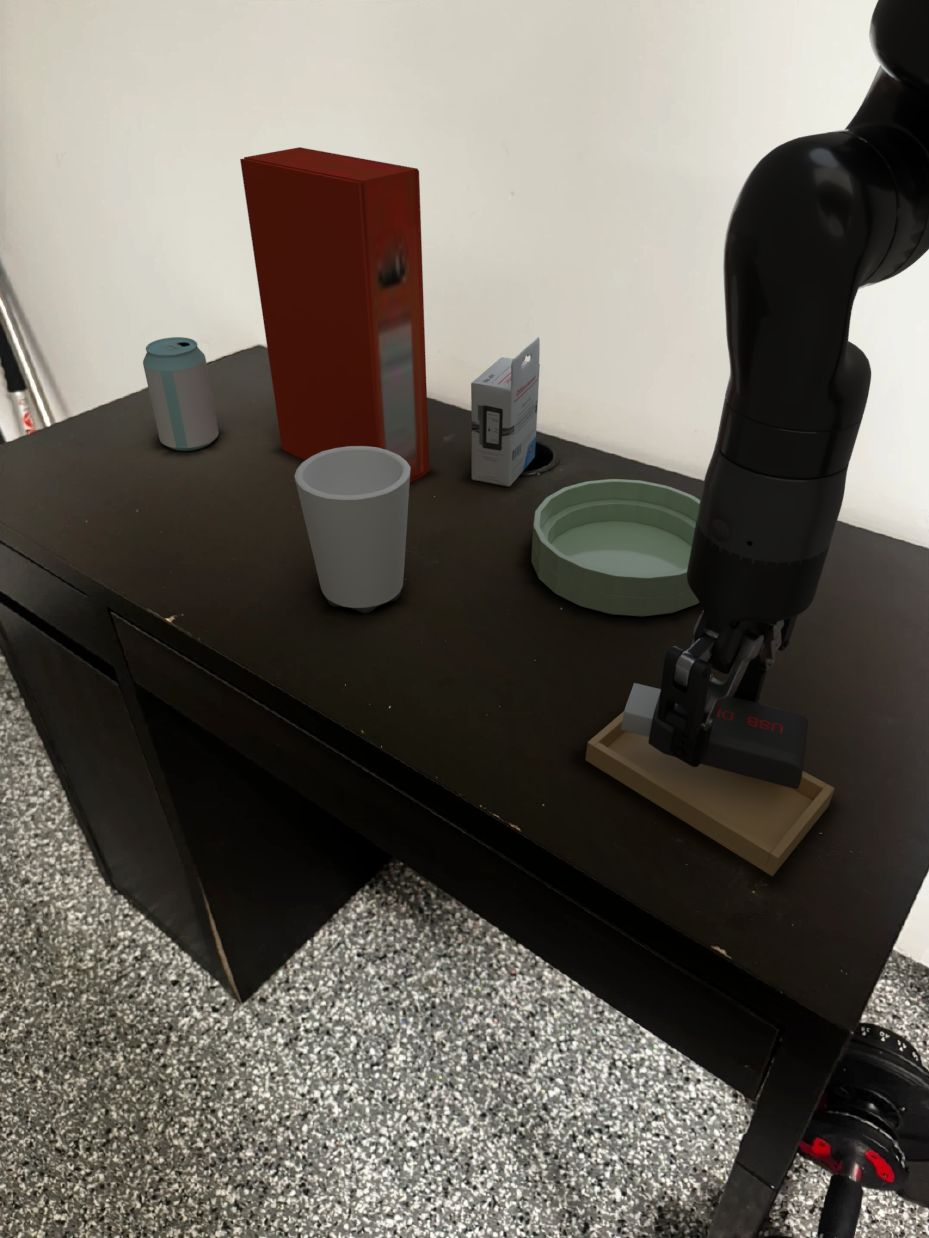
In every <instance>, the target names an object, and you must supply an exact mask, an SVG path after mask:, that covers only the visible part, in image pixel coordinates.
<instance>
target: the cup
mask: <svg viewBox="0 0 929 1238" xmlns="http://www.w3.org/2000/svg"><path fill="white" fill-rule="evenodd" d="M410 468H411V467H410V466H409V464H408V463H407V461H406V460H405V459H403V458H402V457H401V456H399V455H397V454H395V453H393V452H391V451H388V450H385V449H381V448H377V447H368V446H348V447H341V448H334V449H330V450H326V451H322V452H320V453H318V454H316V455H313V456H311V457H310V458H308V459H307V460H303V461H302V462H301V463H300V464H299V466H298V467H297V469H296V470H295V474H294V481H295V485H296V489H297V494H298V498H299V503H300V506H301V511H302V514H303V519H304V524H305V528H306V532H307V535H308V536H307V537H308V541H309V544H310V545H309V546H310V549H311V553H312V556H313V561H314V565H315V570H316V574H317V579H318V582H319V586H320V590H321V592H322V594H323V595H324V597H325V600H326V602H328V604H329V605H330V606H331V607H334V608H339V607H343V608H349V609H351V610H355V611H357V612H359V613H361V614H369V613H371V612H372V611H374V610H375V609H376V608H378V607H380V606H381V605H384V604H386V603H390V602H395V601H398V599H399V597H400V595H401V593H402V589H403V587H404V575H405V562H406V561H405V560H406V546H407V545H406V544H407V529H408V516H409V515H408V513H409V500H410V499H409V497H410V483H411V482H410Z"/></svg>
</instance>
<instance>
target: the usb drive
mask: <svg viewBox="0 0 929 1238" xmlns="http://www.w3.org/2000/svg"><path fill="white" fill-rule="evenodd" d="M660 692H661V688H656V687H653V686H648V685H646V684H645V685H644V684H640V683H636V682H633V685H632V687H631V691H630V692H629V693H630V694H629V696H628V699H627V702H626V705H625V707H624V710H623V712H624V714H623V721H622V727H621V730H623V731H627V732H631V733H635V734H639V735H642V736H646V737H649V741H648V743H649V744H650V745H651V746H653V747H654V748H656V749H657V750H659V751H660V752H662V753H663V754H666V755H670V756H673V755H672V754H671V751H670V746H671V741H672V736H673V731H674V728H673V727H671V726H669V725H668V724H666V723H664V722H662V721H660V720H659V719H658V718H657V716H658V708H659V700H660ZM709 699H710V694H709V693H708V692H707V697H706V703H705V707H706V705H707V703H708V701H709ZM808 729H809V721H808V718H807V717H806V715H804V714H802V713H799V712H796V711H794V710H790V709H789V710H788V709H785V708H781V707H777V706H773V705H770V704H769V705H768V704H764V703H760V702H758V703H756V702H752V701H748V700H744V699H740V698H736V697H730V698H725V699H724V700H723V702H722V704H721V706H720V708H719V710H718V713H717V715H716V717H715V719H714V723H713V726H712V730H711V734H710V738H709V742H708V746H707V751H706V755H705V759H704V761H703V762H702V763H701V764H703V765H707V766H711V767H715V768H718V769H722V770H726V771H730V772H733V773H737V774H741V775H745V776H748V777H752V778H756V779H759V780H763V781H767V782H771V783H774V784H778V785H782V786H786V787H790V788H794V789H798V788H799V785H800V782H801V778H802V773H803V771H804V765H805V756H806V748H807V740H808V731H809V730H808ZM673 757H675V756H673Z"/></svg>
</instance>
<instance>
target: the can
mask: <svg viewBox="0 0 929 1238" xmlns="http://www.w3.org/2000/svg"><path fill="white" fill-rule="evenodd" d="M145 351H146V354H145V355H144V358H143V360H142V366H143V370H144V375H145V379H146V384H147V388H148V392H149V397H150V402H151V406H152V410H153V415H154V420H155V424H156V429H157V433H158V438H159V441H160V443H161V444H162V445H163V446H166V447H168V448H170V449H172V450H175V451H181V452H183V451H184V452H189V451H195V450H196V451H197V450H200V449H203V448H206V447H208V446H209V445H211V444H212V443H213V442H214V441H215V440H216V439H217V438H218V437H219V434H220V433H219V426H218V421H217V415H216V409H215V404H214V403H215V402H214V397H213V392H212V385H211V380H210V374H209V370H208V365H207V358H206V355H205V354H204V352H203V351H202V350H201V349H200V348H199V347H198V342H197V341H196V340H194V339H192V338H190V337H182V336H174V337H164V338H159V339H156V340H154V341H151V342H150V343H148V344H147V345H145Z"/></svg>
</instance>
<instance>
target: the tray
mask: <svg viewBox="0 0 929 1238" xmlns="http://www.w3.org/2000/svg"><path fill="white" fill-rule="evenodd" d="M623 714H624V711H622V712H621V713H620V714H619V715H618V716H617V717H615V718H614V719H613V720H612V721H611V722H609V723H608V724H607V725H606V726H604V728H602V729H601V730H600V731H599V732H598V733H596V735H594V736H593V737H592V738H591V739H589V740H588V741H587V744H586V752H585V759H584V760H585V761H586V762H587V763H589V764H591V765H592V766H594V767H595V768H597V769H598V770H600V771H602V772H604V773H605V774H607V775H608V776H610V777H611V778H613V779H614V780H617V781H618V782H620V783H621V784H623V785H625V786H626V787H628V788H629V789H631V790H633V791H634V792H636V793H637V794H638V795H641V796H642V797H644V798H645V799H647V800H648V801H650V802H652V803H654V804H655V805H656V806H658V807H660V808H662V809H663V810H665V811H666V812H668V813H669V814H671V815H673V816H674V817H676V818H677V819H679V820H681V821H683V823H686V824H687V825H689V826H690V827H692V828H694V829H695V830H697V831H698V832H700V833H702V834H703V835H705V836H706V837H708V838H710V839H711V840H713V841H714V842H716V843H717V844H719V845H721V846H722V847H724V848H726V849H727V850H729V851H731V852H732V853H734V854H736V855H737V856H738V857H740V858H741V859H743V860H745V861H747V862H748V863H750V864H751V865H753V866H755V867H756V868H758V869H759V870H761V871H763V872H765V873H766V874H767V875H769V876H771V877H773V876H774V875H775V874H776V873H777V872H778V870H779V869H780V868H781V867H782V866H783V864H784V863H785V862H786V860H787V859H788V858H789V857H790V855H791V854H792V853H793V852H794V851H795V849H796V848H797V847H798V845H800V843H801V841H802V840H804V838H805V836H806V835H807V834H808V833H809V832H810V830H811V829H812V828H813V826H814V825H816V823H817V822H818V821H819V819H820V818H821V816H822V815H823V814H824V813H825V811H826V810H827V809H828V808H829V806H830V803H831V800H832V798H833V795H834V792H835V788H836V787H834V786H832V785H830V784H828V783H826V782H824V781H822V780H821V779H819V778H817V777H815V776H813V775H811V774H809V773H807V772H806V771H804V770H803V773H802V778H801V782H800V785H799V788H798V789H794V788H790V787H786V786H782V785H778V784H774V783H771V782H767V781H763V780H759V779H756V778H752V777H748V776H745V775H741V774H737V773H733V772H730V771H726V770H722V769H718V768H715V767H711V766H707V765H703V764H700V765H699V766H698V767H692V766H690V765H689V764H687V763H685V762H683V761H682V760H680V759H678V758H676V757H673V756H670V755H666V754H663V753H662V752H660V751H659V750H657V749H656V748H654V747H653V746H651V745H650V744H649V743H648V741H649V737H646V736H642V735H639V734H635V733H631V732H627V731H623V730H621V727H622V721H623Z"/></svg>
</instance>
